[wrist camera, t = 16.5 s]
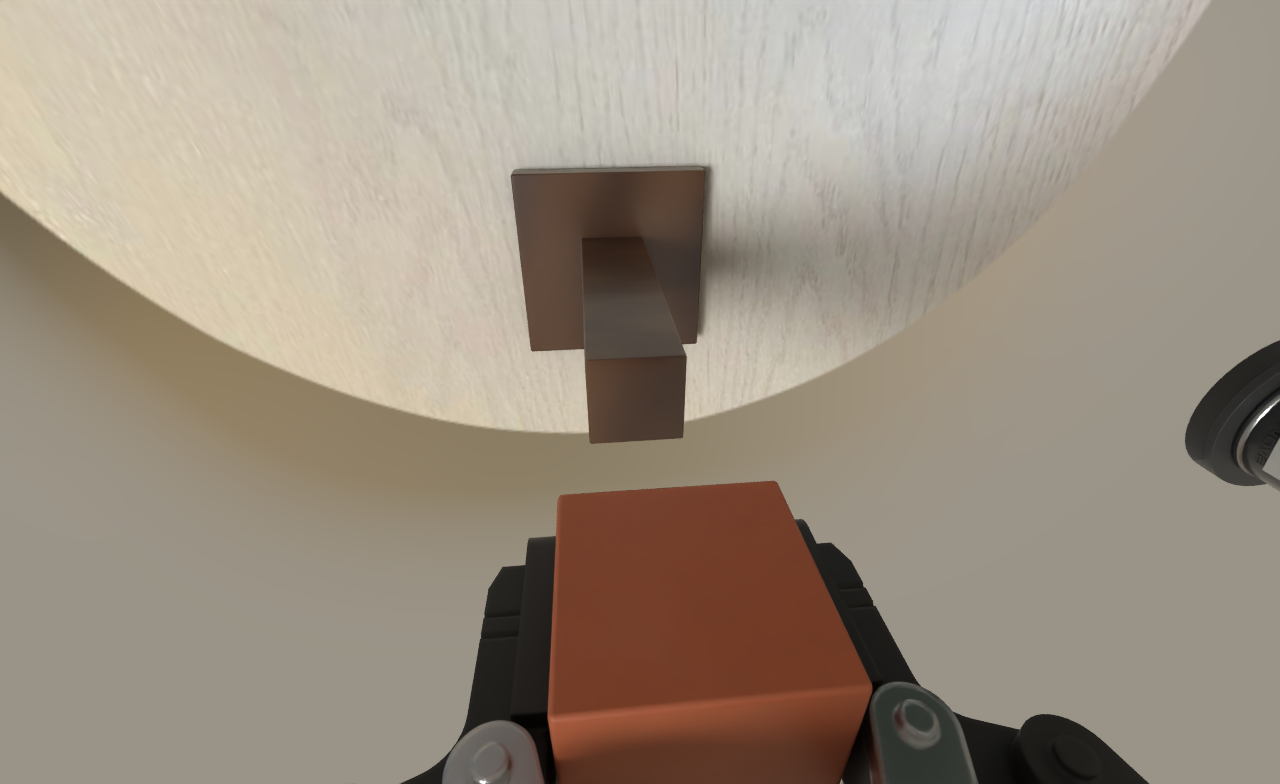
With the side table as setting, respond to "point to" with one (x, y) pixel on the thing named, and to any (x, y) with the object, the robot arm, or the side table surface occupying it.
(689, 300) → the stand
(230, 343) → the side table surface
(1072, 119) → the side table surface
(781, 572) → the block
